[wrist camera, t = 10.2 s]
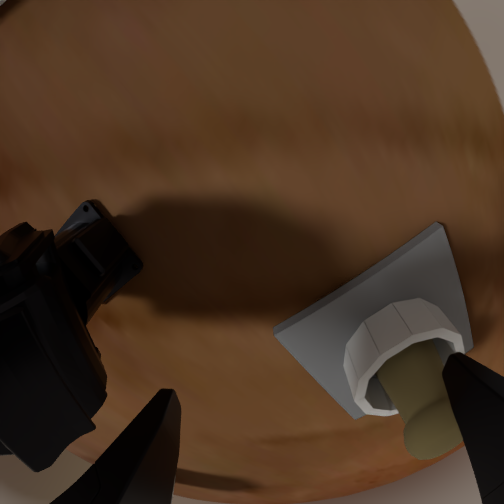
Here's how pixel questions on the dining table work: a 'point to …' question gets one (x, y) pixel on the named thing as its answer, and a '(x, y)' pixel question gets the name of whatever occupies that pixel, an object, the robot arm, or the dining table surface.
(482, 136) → the dining table surface
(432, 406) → the cork
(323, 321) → the cup stand
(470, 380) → the robot arm
